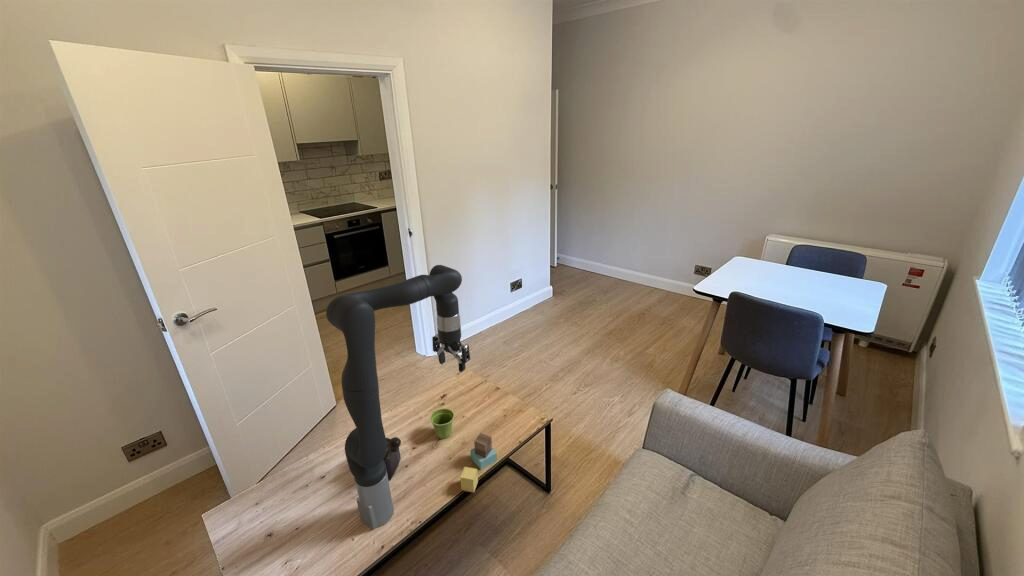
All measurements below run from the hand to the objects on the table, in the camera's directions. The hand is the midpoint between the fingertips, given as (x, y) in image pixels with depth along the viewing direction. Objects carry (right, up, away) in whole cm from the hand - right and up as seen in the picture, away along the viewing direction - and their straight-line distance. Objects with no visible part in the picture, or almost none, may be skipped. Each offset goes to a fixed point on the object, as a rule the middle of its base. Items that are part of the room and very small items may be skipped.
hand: (452, 366), depth 139 cm
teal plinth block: (+10, -37, +12) cm, 40 cm away
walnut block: (+10, -33, +10) cm, 36 cm away
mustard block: (+6, -41, +1) cm, 42 cm away
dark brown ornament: (-24, -39, +8) cm, 46 cm away
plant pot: (-7, -31, +24) cm, 40 cm away
